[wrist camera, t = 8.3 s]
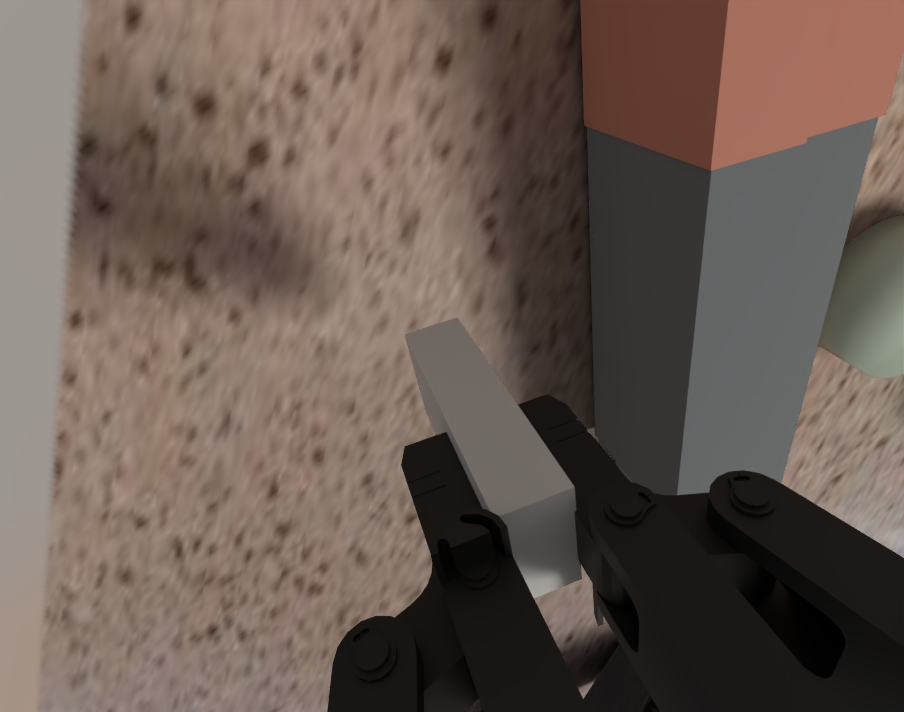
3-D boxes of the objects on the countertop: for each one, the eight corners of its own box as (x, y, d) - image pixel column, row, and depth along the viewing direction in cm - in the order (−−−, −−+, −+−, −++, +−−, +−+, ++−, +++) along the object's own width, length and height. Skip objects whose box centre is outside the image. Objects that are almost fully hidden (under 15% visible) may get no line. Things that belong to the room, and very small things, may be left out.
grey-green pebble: (790, 363, 28) (840, 397, 25) (820, 237, 24) (884, 263, 21) (902, 323, 29) (961, 352, 26) (950, 195, 25) (1024, 216, 22)
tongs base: (679, 481, 30) (768, 583, 25) (594, 513, 29) (668, 625, 24) (733, -59, 16) (967, -94, 11) (574, -23, 15) (740, -40, 10)
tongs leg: (642, 417, 26) (731, 513, 21) (593, 434, 25) (672, 536, 20) (662, -42, 15) (848, -67, 11) (579, -24, 15) (733, -41, 10)
